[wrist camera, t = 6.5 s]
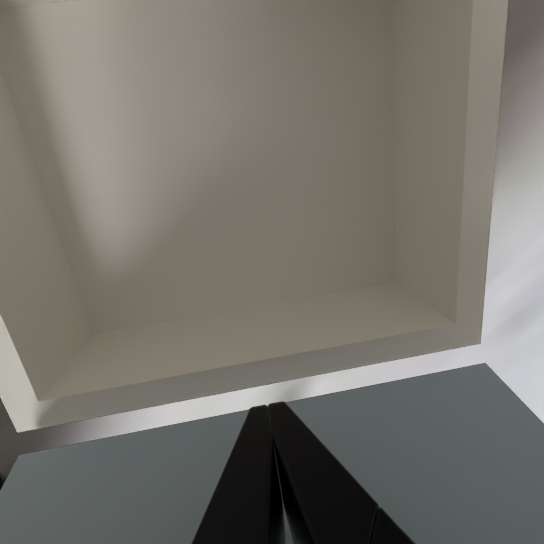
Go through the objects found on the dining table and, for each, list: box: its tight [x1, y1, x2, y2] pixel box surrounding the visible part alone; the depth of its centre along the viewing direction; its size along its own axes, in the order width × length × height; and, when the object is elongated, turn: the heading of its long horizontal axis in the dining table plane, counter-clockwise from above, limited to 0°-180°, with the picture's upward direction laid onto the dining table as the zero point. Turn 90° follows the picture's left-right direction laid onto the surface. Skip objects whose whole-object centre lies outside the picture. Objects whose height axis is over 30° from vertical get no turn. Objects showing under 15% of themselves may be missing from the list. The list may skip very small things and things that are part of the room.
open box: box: [0, 0, 509, 433], centre depth 11 cm, size 14×16×5 cm
